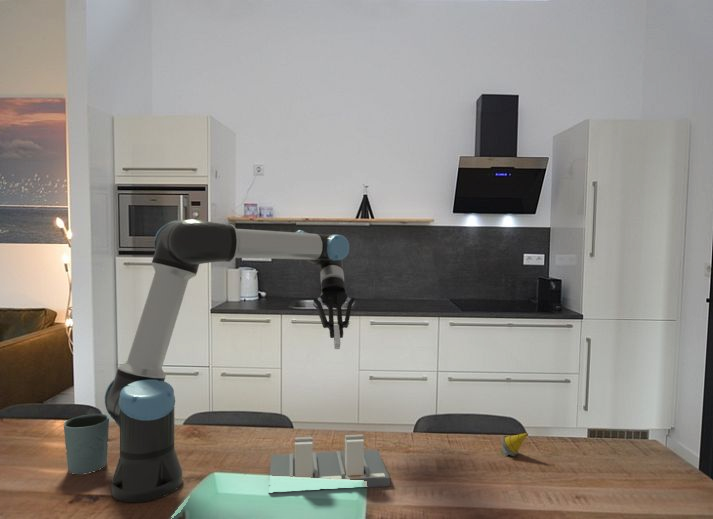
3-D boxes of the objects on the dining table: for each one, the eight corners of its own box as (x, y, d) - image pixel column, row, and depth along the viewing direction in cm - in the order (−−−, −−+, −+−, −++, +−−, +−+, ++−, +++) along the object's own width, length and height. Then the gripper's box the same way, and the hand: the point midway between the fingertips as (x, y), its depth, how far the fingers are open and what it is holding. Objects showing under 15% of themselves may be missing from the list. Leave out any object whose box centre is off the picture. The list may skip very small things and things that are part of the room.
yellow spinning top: (505, 449, 135) (532, 430, 131) (509, 465, 130) (537, 446, 126) (491, 439, 133) (519, 420, 129) (495, 455, 129) (523, 435, 125)
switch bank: (268, 493, 108) (268, 479, 108) (271, 462, 124) (271, 450, 124) (389, 486, 112) (389, 472, 112) (377, 456, 128) (377, 444, 128)
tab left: (294, 478, 111) (295, 441, 110) (294, 470, 114) (294, 435, 114) (312, 477, 111) (312, 441, 111) (311, 469, 115) (312, 434, 115)
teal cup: (89, 478, 115) (89, 429, 115) (53, 474, 117) (53, 425, 117) (118, 460, 125) (118, 414, 125) (84, 456, 127) (84, 411, 127)
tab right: (346, 475, 112) (346, 439, 112) (344, 468, 116) (344, 432, 116) (363, 474, 113) (364, 438, 113) (361, 467, 117) (361, 432, 117)
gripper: (352, 290, 155) (358, 353, 139) (311, 291, 153) (313, 354, 137) (354, 275, 149) (361, 338, 133) (312, 275, 148) (314, 339, 132)
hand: (337, 346), depth 135 cm, fingers closed
